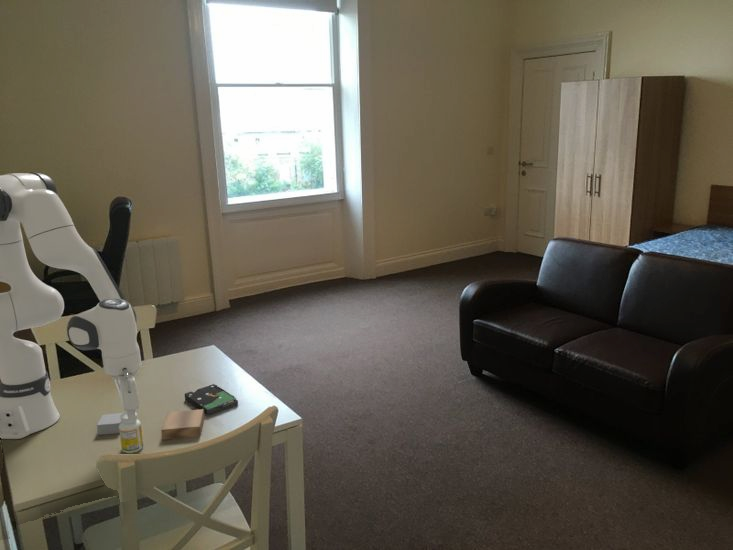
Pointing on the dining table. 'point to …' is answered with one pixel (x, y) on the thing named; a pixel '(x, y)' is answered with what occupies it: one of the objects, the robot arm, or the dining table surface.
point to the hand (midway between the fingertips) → (129, 412)
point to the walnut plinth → (183, 424)
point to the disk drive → (211, 399)
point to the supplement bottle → (130, 434)
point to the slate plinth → (109, 424)
